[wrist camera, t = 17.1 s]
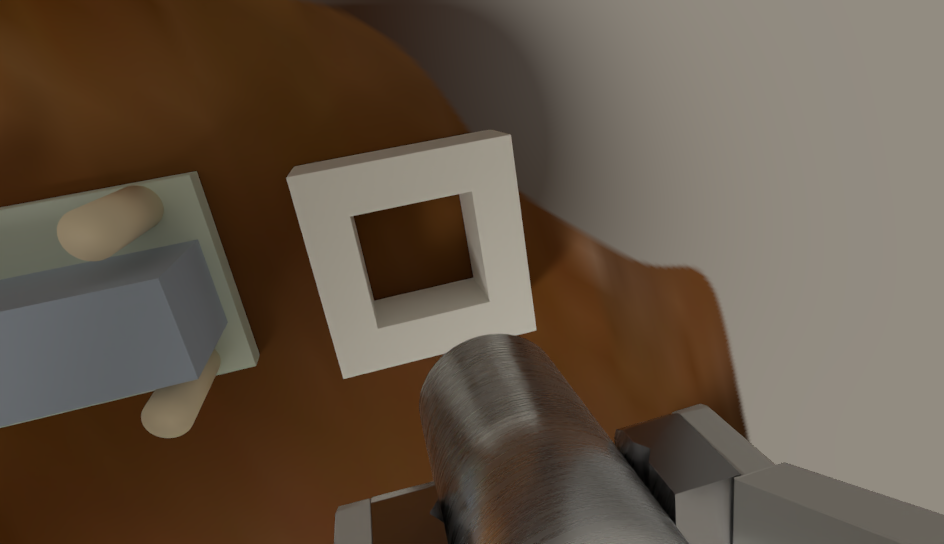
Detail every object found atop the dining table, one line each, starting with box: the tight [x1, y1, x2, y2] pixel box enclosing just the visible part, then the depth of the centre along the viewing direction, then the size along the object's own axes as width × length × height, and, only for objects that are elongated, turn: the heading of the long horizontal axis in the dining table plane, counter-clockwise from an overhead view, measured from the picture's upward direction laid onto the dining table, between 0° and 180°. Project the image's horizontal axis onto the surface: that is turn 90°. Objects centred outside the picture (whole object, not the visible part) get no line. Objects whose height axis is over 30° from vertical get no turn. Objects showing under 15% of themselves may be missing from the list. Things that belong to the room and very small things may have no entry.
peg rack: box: [0, 171, 260, 438], centre depth 18 cm, size 12×8×5 cm, turn 98°
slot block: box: [286, 129, 536, 379], centre depth 21 cm, size 8×8×3 cm
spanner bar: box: [0, 239, 228, 427], centre depth 18 cm, size 11×4×4 cm, turn 98°
